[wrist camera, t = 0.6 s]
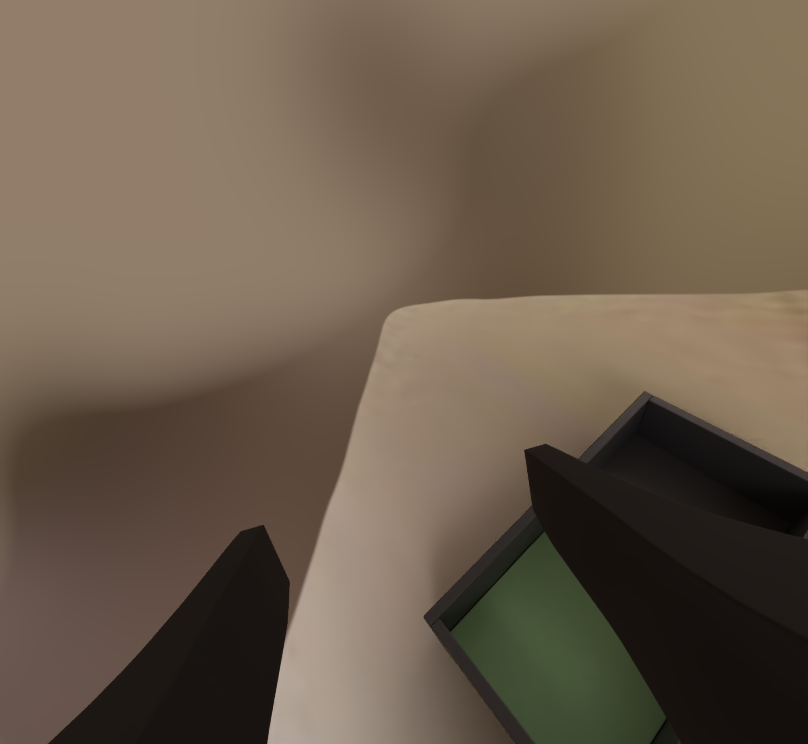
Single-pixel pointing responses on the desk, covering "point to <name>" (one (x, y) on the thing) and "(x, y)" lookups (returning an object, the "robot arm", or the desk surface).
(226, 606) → the robot arm
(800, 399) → the desk surface
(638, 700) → the organizer
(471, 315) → the desk surface
